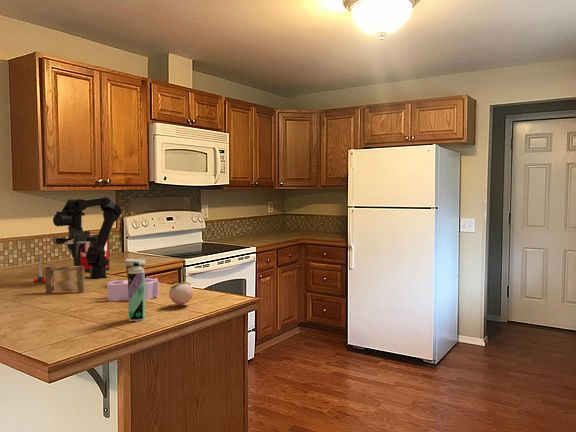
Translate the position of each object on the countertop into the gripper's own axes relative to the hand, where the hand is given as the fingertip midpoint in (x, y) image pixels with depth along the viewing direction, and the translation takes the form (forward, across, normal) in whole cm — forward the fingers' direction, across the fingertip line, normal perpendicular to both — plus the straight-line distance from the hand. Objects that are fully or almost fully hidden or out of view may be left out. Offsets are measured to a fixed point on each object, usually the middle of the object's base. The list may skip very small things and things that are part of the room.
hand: (75, 257), depth 223 cm
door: (+12, -10, -18) cm, 24 cm away
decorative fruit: (+13, +15, -74) cm, 76 cm away
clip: (+13, +7, -48) cm, 50 cm away
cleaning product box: (+12, +18, +29) cm, 37 cm away
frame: (+12, -10, -19) cm, 25 cm away
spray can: (+13, -6, -80) cm, 81 cm away
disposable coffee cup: (+12, +19, -24) cm, 33 cm away
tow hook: (+12, -9, +16) cm, 22 cm away
